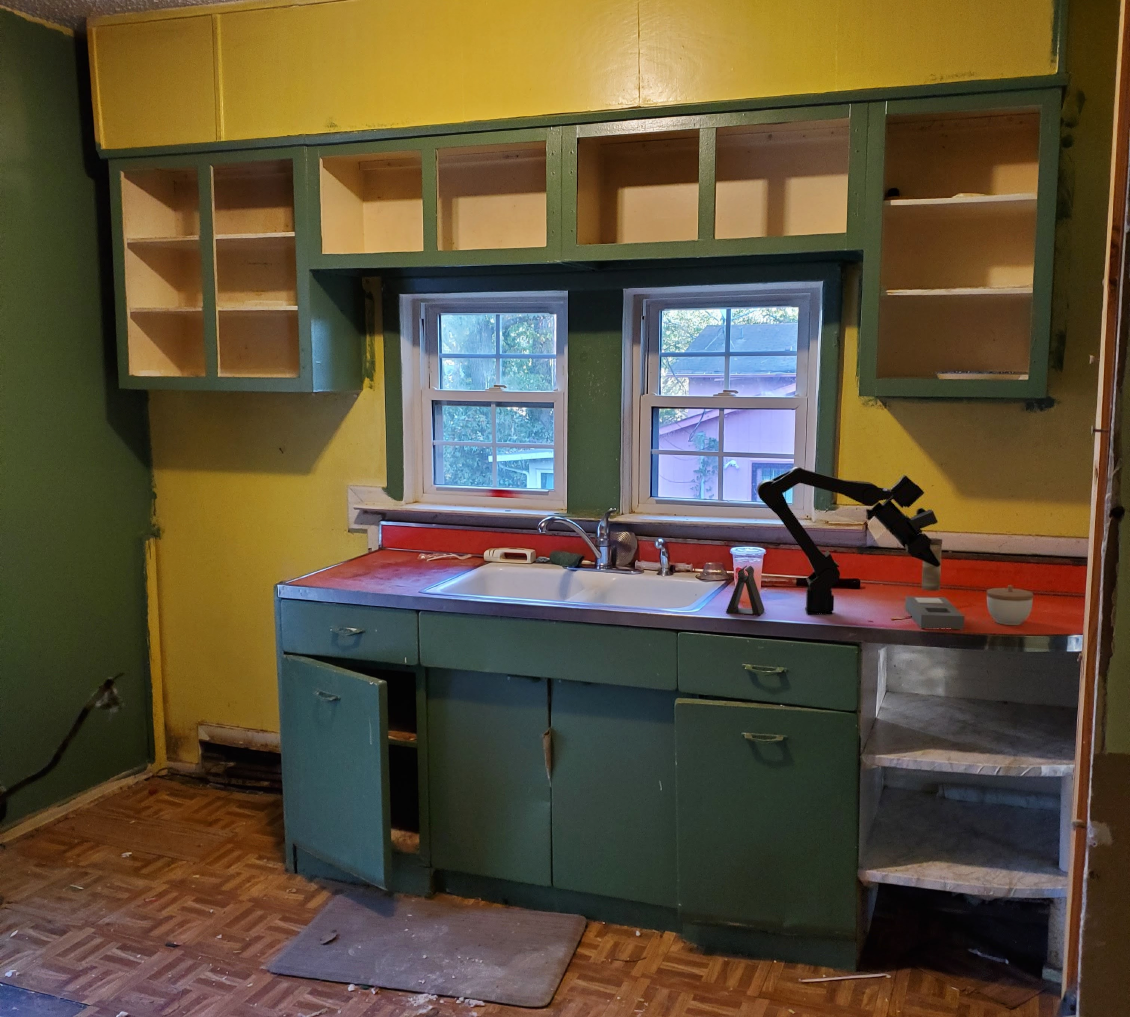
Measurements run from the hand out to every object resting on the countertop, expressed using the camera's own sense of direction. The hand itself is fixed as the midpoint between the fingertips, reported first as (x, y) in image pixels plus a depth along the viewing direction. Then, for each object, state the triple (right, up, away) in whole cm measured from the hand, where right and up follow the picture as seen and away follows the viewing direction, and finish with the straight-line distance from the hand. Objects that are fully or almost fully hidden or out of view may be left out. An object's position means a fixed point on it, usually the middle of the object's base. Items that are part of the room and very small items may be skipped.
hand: (937, 564), depth 269 cm
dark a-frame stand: (-48, -13, +7) cm, 50 cm away
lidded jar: (+16, -14, -6) cm, 22 cm away
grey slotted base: (-2, -14, -3) cm, 14 cm away
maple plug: (-1, -7, +1) cm, 7 cm away
